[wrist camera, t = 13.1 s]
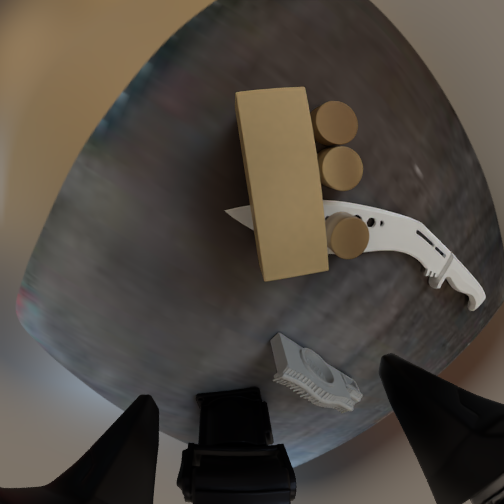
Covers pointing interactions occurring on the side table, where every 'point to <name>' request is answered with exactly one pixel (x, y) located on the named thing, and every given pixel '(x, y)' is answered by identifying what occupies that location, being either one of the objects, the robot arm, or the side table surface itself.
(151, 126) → the side table surface
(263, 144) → the oblong tan box
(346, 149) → the short tan cylinder
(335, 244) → the tan squat cylinder
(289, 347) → the garden wall model
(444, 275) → the knife
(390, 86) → the side table surface
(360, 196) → the side table surface
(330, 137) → the crumb
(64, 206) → the side table surface
